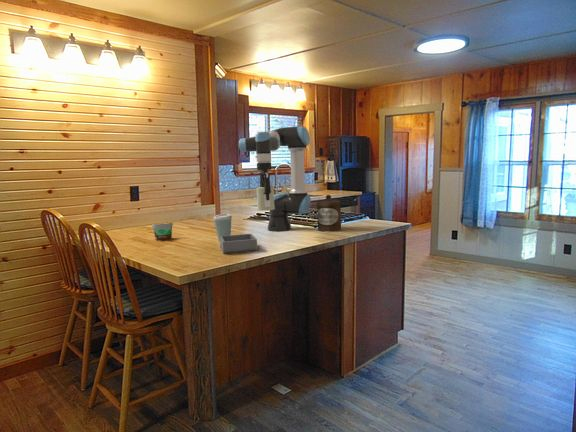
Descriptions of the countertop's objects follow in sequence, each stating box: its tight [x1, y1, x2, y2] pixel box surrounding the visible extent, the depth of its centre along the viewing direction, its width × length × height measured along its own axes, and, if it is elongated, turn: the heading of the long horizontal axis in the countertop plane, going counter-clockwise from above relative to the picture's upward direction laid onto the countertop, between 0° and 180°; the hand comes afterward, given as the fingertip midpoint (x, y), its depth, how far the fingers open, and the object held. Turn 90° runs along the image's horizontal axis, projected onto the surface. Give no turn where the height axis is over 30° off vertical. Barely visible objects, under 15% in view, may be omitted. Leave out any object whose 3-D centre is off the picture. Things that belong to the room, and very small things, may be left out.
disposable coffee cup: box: [212, 213, 233, 242], centre depth 236 cm, size 11×11×15 cm
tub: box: [219, 233, 258, 255], centre depth 213 cm, size 17×17×6 cm
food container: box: [151, 221, 174, 241], centre depth 246 cm, size 12×6×10 cm, turn 112°
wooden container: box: [316, 194, 342, 232], centre depth 259 cm, size 15×15×22 cm
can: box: [255, 186, 275, 211], centre depth 216 cm, size 9×9×12 cm
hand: (265, 205), depth 216 cm, fingers closed on can, 9 cm apart
